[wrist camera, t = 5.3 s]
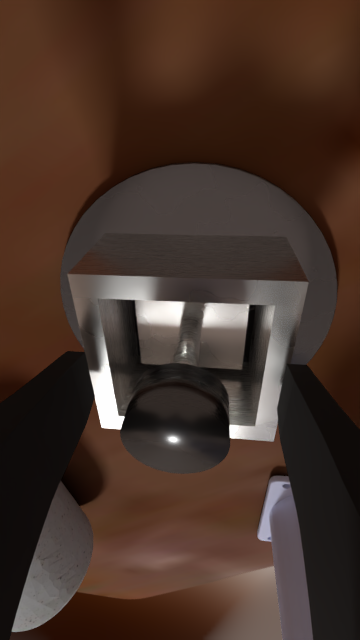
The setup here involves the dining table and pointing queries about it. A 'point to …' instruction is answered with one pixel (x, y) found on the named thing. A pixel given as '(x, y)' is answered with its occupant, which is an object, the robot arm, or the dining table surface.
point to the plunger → (183, 384)
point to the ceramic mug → (56, 562)
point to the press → (199, 280)
